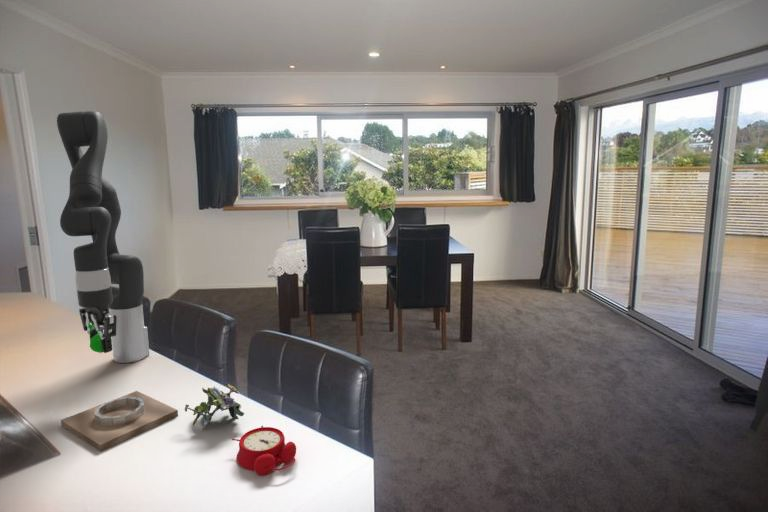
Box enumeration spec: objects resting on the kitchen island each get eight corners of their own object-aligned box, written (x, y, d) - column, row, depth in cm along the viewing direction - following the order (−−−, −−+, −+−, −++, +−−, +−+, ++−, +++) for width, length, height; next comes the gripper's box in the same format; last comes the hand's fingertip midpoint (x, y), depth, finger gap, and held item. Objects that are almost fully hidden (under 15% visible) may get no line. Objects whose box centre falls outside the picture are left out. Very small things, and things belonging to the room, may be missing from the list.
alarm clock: (266, 420, 106) (305, 431, 96) (271, 447, 106) (310, 461, 96) (223, 438, 99) (261, 452, 88) (228, 467, 99) (266, 485, 89)
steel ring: (130, 400, 119) (129, 393, 118) (152, 412, 113) (152, 404, 113) (87, 417, 110) (86, 409, 110) (109, 430, 105) (108, 422, 105)
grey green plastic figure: (233, 438, 115) (256, 407, 111) (193, 451, 106) (217, 418, 102) (213, 401, 120) (234, 370, 116) (173, 411, 111) (195, 377, 107)
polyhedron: (113, 352, 121) (111, 335, 120) (91, 356, 119) (88, 338, 118) (112, 346, 125) (110, 329, 125) (90, 350, 123) (88, 333, 122)
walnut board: (137, 396, 124) (136, 390, 124) (178, 415, 115) (177, 409, 114) (61, 426, 109) (60, 420, 109) (100, 451, 100) (100, 444, 100)
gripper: (124, 286, 118) (131, 350, 121) (94, 279, 126) (102, 339, 129) (93, 293, 112) (101, 360, 115) (64, 285, 119) (72, 348, 123)
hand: (101, 349), depth 122 cm, fingers closed on polyhedron, 5 cm apart
